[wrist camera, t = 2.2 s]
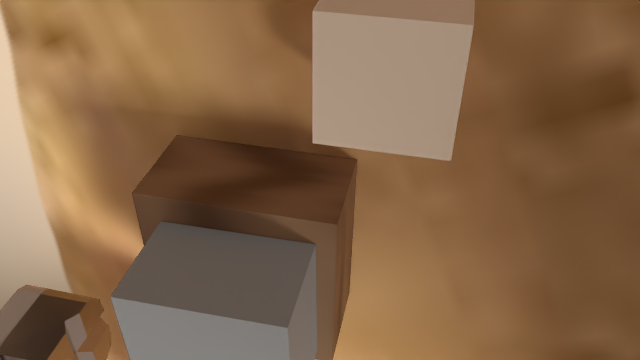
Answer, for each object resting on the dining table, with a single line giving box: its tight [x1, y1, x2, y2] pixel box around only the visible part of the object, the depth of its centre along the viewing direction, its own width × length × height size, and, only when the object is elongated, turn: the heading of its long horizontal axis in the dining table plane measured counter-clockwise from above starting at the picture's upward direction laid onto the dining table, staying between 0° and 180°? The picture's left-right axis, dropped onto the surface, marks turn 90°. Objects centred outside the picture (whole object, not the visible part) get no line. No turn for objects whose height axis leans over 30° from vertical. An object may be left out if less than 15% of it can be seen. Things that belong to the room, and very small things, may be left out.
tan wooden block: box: [132, 135, 357, 360], centre depth 30 cm, size 9×9×5 cm
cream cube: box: [312, 0, 475, 161], centre depth 22 cm, size 5×5×5 cm
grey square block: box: [110, 222, 317, 360], centre depth 26 cm, size 7×7×4 cm
